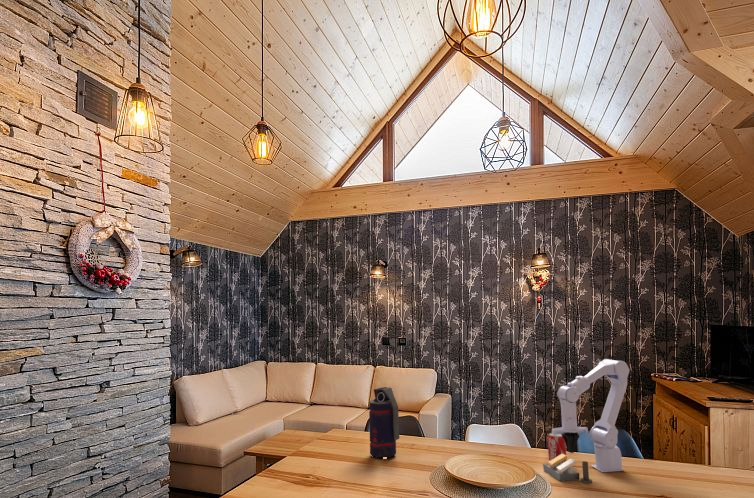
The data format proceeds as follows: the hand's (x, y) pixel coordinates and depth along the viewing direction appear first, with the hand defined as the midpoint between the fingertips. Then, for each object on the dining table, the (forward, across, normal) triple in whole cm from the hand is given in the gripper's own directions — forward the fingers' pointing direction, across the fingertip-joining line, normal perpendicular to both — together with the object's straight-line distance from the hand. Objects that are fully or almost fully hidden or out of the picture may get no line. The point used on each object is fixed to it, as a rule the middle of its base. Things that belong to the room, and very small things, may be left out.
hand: (571, 452), depth 195 cm
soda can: (+8, 0, +12) cm, 14 cm away
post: (+8, 0, -10) cm, 12 cm away
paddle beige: (+3, -5, -6) cm, 8 cm away
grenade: (+8, -69, +37) cm, 79 cm away
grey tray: (+8, -5, -1) cm, 10 cm away
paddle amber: (+3, -5, +1) cm, 6 cm away
